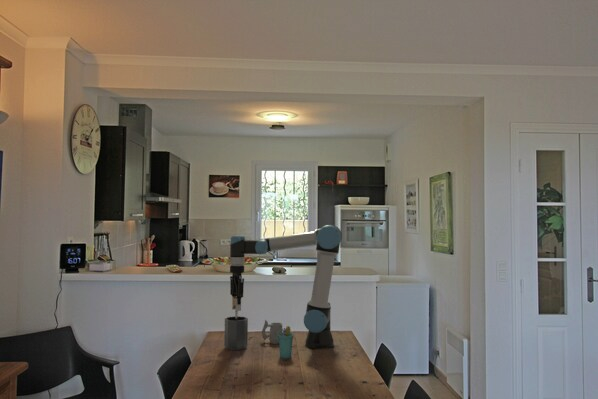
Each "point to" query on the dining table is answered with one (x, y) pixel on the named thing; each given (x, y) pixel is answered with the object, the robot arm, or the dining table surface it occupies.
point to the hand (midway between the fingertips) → (236, 309)
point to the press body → (236, 333)
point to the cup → (285, 343)
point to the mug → (272, 331)
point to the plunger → (235, 308)
